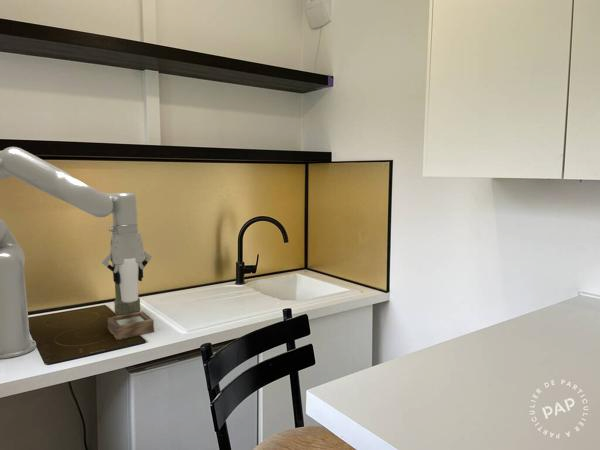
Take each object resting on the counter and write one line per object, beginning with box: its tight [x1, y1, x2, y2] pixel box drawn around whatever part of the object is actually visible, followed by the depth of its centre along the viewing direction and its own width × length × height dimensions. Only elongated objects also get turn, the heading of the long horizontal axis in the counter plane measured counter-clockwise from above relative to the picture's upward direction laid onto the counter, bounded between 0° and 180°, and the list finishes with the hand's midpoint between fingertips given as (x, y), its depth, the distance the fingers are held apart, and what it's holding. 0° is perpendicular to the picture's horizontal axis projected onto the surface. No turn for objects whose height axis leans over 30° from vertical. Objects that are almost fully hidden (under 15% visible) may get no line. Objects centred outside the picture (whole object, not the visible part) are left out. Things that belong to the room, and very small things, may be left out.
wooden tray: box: [107, 310, 155, 341], centre depth 151 cm, size 12×12×4 cm
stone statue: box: [111, 232, 141, 316], centre depth 163 cm, size 9×12×35 cm
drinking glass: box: [118, 258, 139, 303], centre depth 149 cm, size 7×7×15 cm
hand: (128, 281), depth 149 cm, fingers closed on drinking glass, 6 cm apart
